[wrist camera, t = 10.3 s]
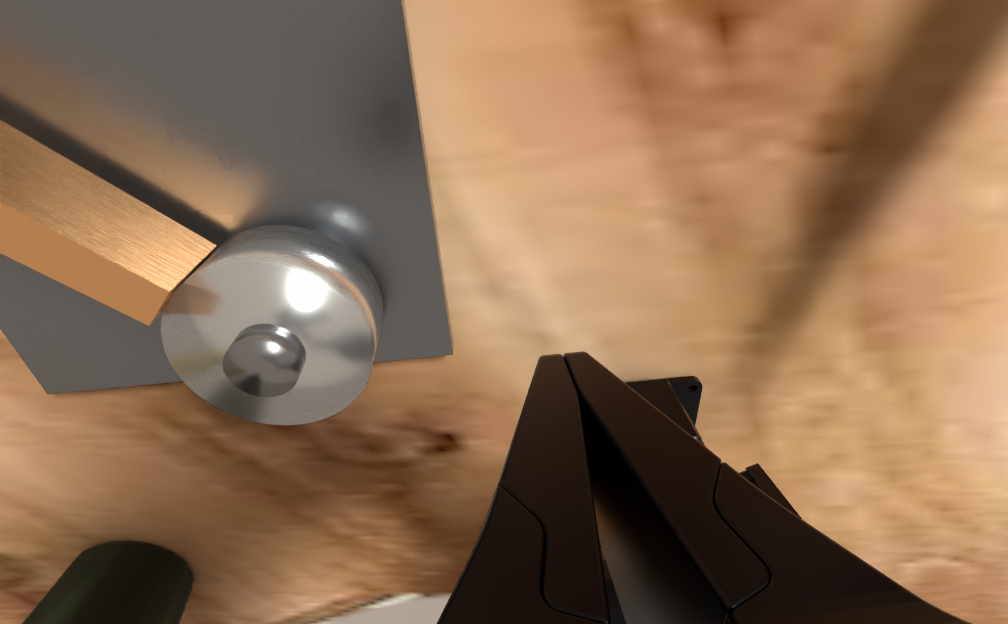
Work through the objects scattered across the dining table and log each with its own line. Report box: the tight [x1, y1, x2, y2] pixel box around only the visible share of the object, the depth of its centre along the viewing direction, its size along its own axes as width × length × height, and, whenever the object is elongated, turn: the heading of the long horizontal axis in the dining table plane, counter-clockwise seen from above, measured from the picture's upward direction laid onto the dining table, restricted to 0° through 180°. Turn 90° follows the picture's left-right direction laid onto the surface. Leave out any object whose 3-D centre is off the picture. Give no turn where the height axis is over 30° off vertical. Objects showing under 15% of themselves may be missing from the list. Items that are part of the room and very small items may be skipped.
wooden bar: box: [0, 120, 384, 425], centre depth 16 cm, size 20×7×4 cm, turn 50°
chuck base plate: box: [0, 0, 453, 394], centre depth 17 cm, size 21×18×1 cm
